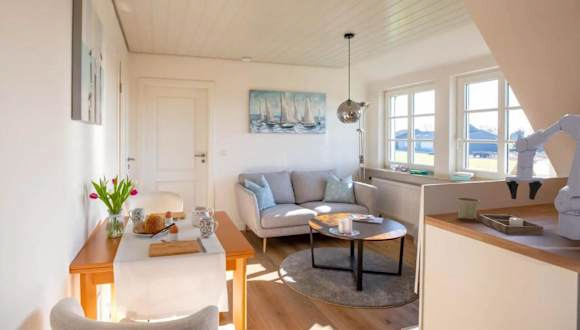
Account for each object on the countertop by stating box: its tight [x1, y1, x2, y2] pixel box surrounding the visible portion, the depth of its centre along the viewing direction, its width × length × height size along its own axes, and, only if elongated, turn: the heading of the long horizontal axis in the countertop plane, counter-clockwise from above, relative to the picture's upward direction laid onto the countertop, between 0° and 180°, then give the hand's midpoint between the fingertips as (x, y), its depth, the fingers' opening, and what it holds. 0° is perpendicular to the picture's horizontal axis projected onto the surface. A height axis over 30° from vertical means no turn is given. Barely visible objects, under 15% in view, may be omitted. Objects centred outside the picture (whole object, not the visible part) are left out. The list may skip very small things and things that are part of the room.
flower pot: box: [455, 197, 481, 220], centre depth 165 cm, size 9×9×9 cm
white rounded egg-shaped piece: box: [509, 217, 524, 226], centre depth 143 cm, size 4×4×4 cm
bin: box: [477, 213, 544, 235], centre depth 148 cm, size 20×14×4 cm, turn 1°
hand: (522, 199), depth 160 cm, fingers open, 7 cm apart
